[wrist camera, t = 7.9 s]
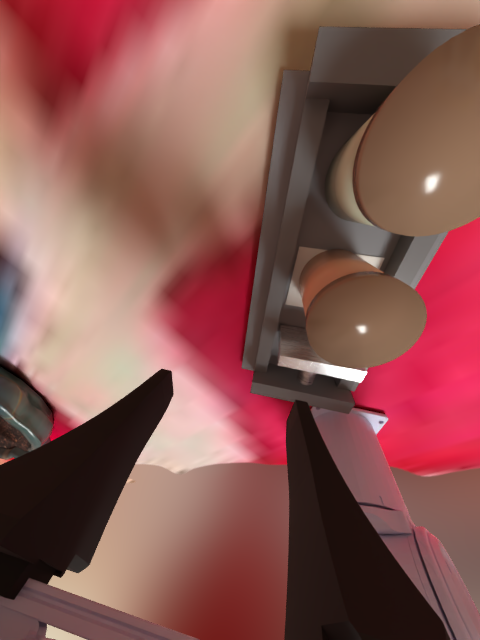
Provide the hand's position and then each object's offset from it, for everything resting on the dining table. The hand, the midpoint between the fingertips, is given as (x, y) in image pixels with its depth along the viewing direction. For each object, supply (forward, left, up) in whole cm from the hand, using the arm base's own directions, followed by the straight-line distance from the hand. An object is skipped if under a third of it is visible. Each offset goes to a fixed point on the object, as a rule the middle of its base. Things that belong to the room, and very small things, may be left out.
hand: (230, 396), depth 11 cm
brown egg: (+12, -6, -9) cm, 16 cm away
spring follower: (-1, -6, -8) cm, 10 cm away
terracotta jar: (+5, -6, -8) cm, 11 cm away
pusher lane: (+5, -6, -9) cm, 12 cm away
